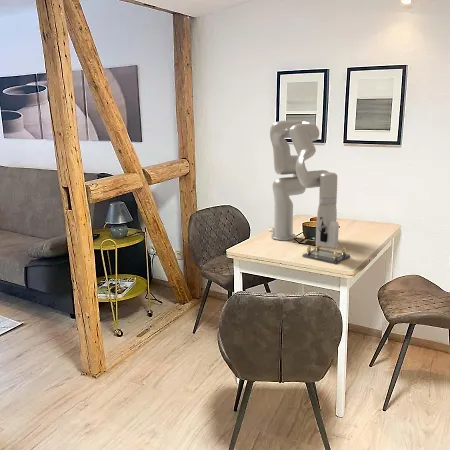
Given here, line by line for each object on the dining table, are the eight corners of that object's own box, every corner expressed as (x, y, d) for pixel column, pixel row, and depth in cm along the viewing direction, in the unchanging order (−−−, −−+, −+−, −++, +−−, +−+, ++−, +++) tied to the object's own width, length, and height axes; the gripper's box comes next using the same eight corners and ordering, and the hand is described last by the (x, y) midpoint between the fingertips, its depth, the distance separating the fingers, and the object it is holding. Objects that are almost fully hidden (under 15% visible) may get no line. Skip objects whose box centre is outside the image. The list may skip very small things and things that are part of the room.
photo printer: (339, 246, 212) (340, 219, 209) (335, 248, 209) (336, 221, 206) (317, 243, 218) (318, 217, 215) (314, 245, 214) (314, 219, 211)
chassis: (302, 256, 216) (302, 247, 214) (317, 250, 225) (317, 241, 224) (335, 264, 205) (336, 254, 203) (349, 256, 214) (350, 247, 213)
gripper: (330, 196, 217) (328, 235, 221) (310, 202, 205) (309, 243, 209) (344, 198, 212) (343, 237, 216) (325, 204, 200) (324, 246, 204)
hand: (326, 239), depth 213 cm, fingers closed on photo printer, 4 cm apart
